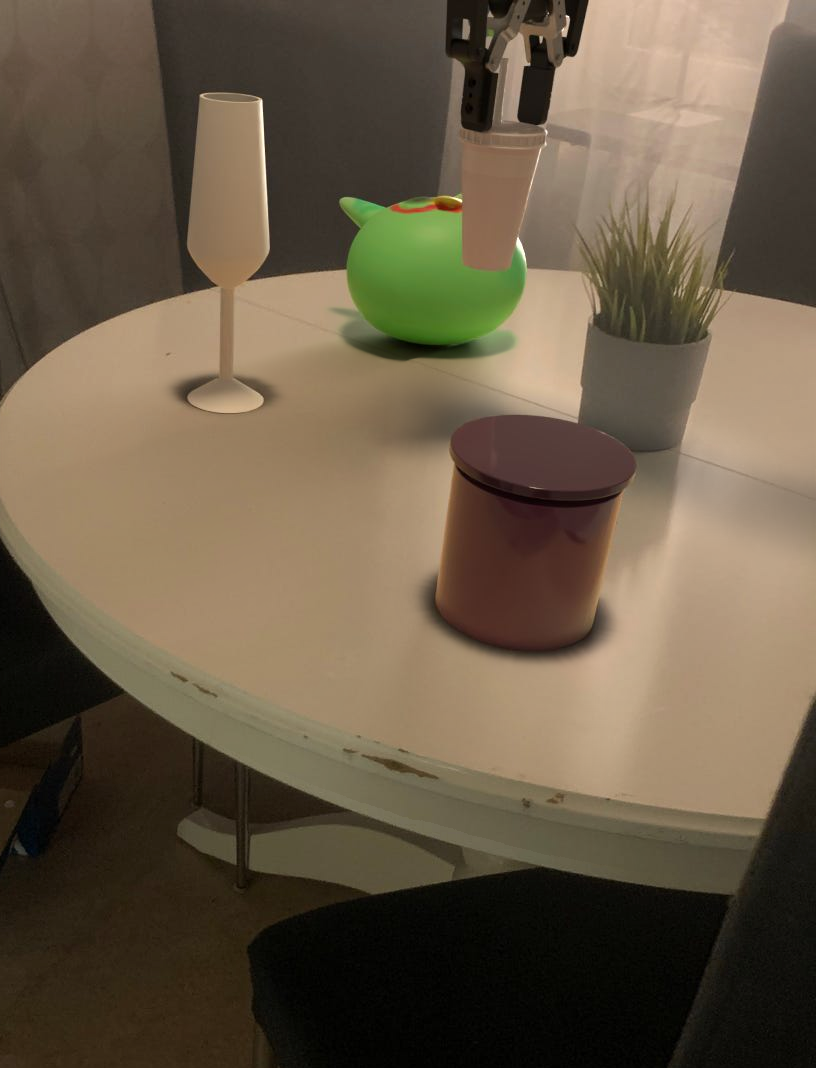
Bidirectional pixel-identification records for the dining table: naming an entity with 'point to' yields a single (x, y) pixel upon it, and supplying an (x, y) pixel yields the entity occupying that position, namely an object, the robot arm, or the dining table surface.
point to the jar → (529, 529)
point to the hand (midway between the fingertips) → (504, 126)
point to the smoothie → (496, 185)
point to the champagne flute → (228, 224)
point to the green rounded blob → (425, 273)
